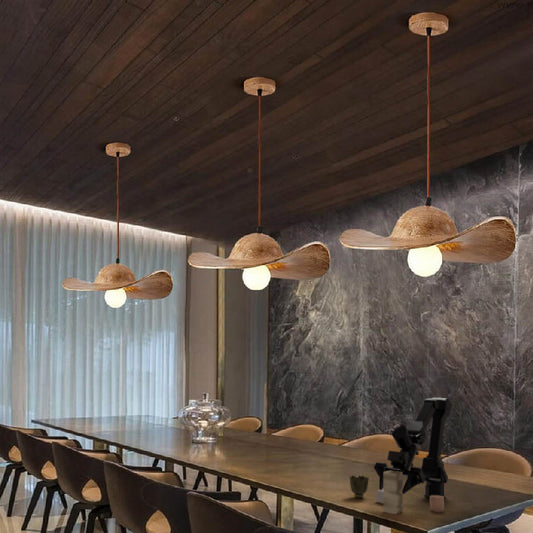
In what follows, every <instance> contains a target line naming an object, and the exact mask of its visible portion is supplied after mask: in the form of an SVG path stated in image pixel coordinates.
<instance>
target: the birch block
mask: <svg viewBox="0 0 533 533" xmlns="http://www.w3.org/2000/svg"><path fill="white" fill-rule="evenodd" d="M403 478H404V476H403V472H398V471H391V470H390V471H386V472H383V504H382V505H383V513H386V512H387V513H388V514H392V515H398V514H400V512H401V513H403V512H404V511H403V510H404V508H403V506H404V505H403V503H404V502H403V499H404V498H403V497H404V496H403V495H404V494H403V493H402V490H403V487H404V485H403ZM397 513H398V514H397Z"/></svg>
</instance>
